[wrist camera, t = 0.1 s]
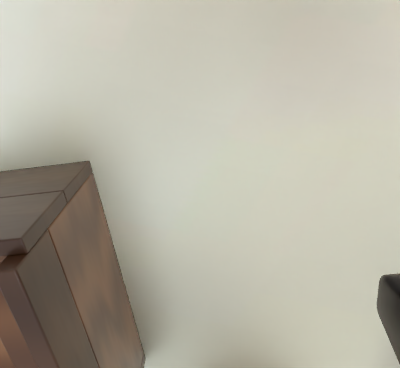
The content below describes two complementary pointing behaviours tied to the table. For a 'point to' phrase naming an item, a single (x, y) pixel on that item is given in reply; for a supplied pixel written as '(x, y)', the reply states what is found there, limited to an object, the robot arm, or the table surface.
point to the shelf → (61, 275)
